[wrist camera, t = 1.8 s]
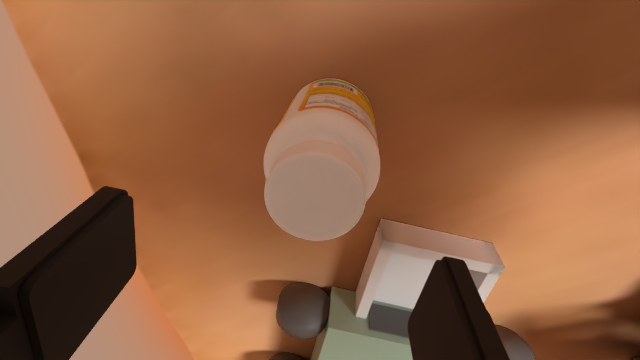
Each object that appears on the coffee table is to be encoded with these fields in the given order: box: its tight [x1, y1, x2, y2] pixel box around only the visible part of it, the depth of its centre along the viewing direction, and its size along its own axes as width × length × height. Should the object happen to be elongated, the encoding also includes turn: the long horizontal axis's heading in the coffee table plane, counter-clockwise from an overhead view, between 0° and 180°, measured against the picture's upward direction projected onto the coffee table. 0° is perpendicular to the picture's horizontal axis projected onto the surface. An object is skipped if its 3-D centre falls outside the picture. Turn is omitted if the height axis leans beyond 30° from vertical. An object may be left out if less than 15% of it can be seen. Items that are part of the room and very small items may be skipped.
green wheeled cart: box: [270, 218, 535, 360], centre depth 27 cm, size 20×18×7 cm
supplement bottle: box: [263, 78, 380, 241], centre depth 18 cm, size 5×5×10 cm
